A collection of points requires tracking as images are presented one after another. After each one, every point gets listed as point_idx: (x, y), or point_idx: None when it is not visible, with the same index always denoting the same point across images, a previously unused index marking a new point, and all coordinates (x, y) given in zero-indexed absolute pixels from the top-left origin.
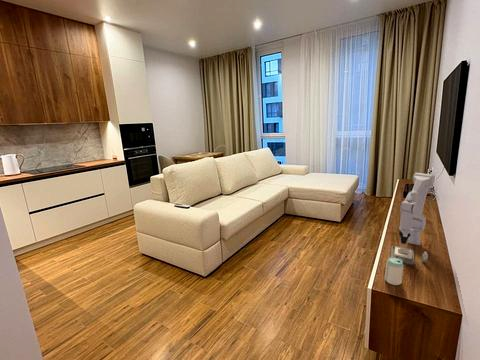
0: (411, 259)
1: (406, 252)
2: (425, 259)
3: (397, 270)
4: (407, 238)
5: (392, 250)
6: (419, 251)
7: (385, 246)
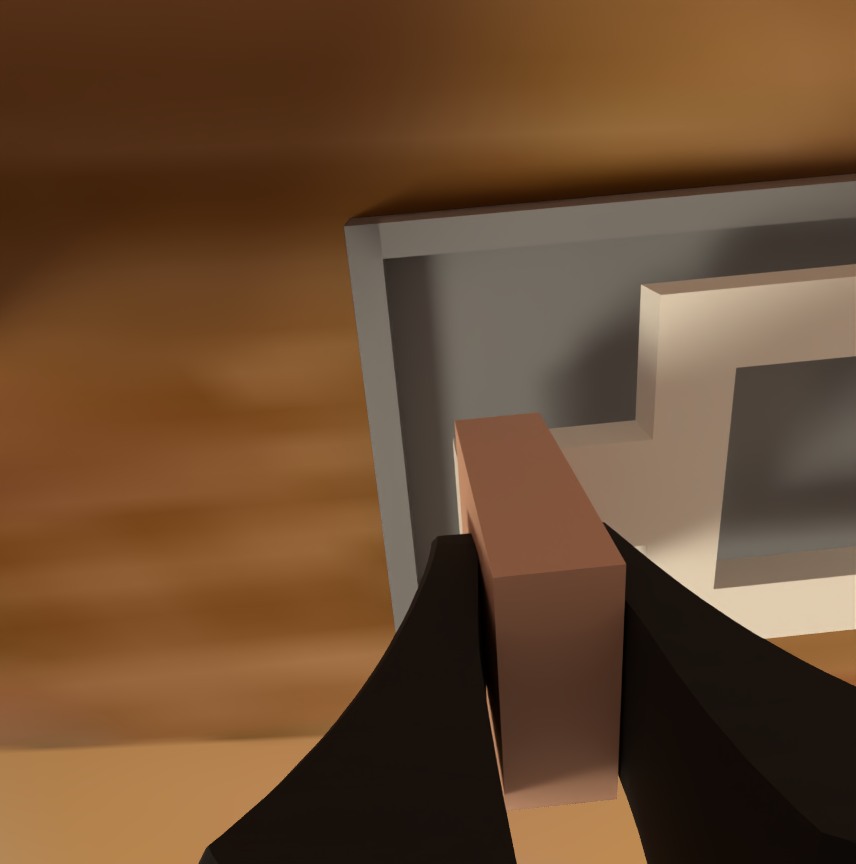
0: (818, 231)
1: (498, 356)
2: None
3: None
4: (814, 682)
5: None
6: (213, 56)
7: None
